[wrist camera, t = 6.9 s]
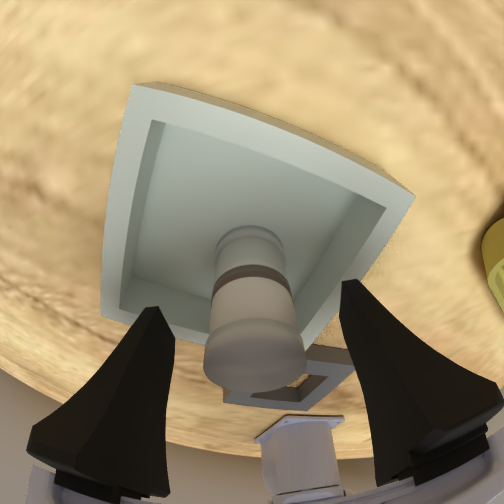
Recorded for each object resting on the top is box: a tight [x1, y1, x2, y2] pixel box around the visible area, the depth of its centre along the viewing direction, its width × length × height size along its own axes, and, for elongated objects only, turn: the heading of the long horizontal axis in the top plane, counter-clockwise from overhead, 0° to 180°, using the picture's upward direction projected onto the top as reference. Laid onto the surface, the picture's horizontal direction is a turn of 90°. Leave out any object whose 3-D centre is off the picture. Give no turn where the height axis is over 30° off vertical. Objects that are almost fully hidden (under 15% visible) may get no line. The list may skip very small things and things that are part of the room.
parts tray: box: [101, 82, 416, 351], centre depth 13 cm, size 11×11×3 cm
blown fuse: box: [203, 225, 307, 393], centre depth 12 cm, size 3×3×6 cm
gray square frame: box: [223, 344, 355, 411], centre depth 21 cm, size 8×8×2 cm
